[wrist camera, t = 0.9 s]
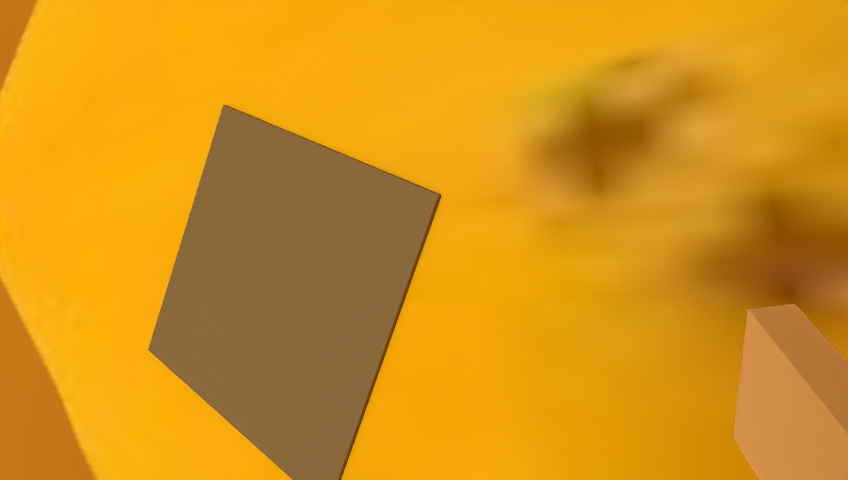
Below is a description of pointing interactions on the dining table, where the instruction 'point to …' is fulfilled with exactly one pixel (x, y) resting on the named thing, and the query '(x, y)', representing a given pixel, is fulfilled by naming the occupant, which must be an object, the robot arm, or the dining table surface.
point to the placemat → (290, 289)
